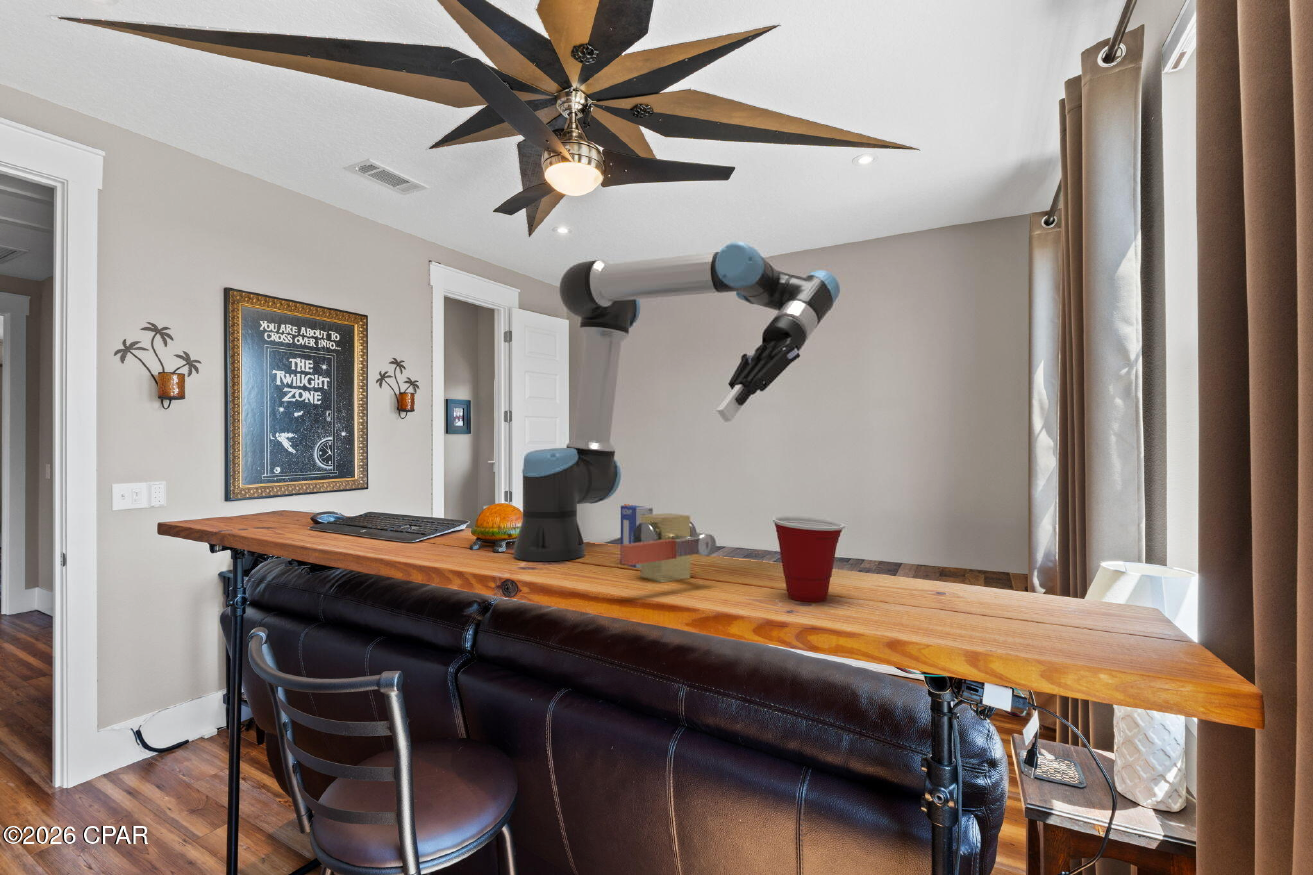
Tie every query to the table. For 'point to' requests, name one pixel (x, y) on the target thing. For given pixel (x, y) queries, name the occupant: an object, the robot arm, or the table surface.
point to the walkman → (631, 523)
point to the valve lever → (667, 549)
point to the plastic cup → (807, 555)
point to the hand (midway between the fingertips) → (723, 415)
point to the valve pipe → (663, 529)
